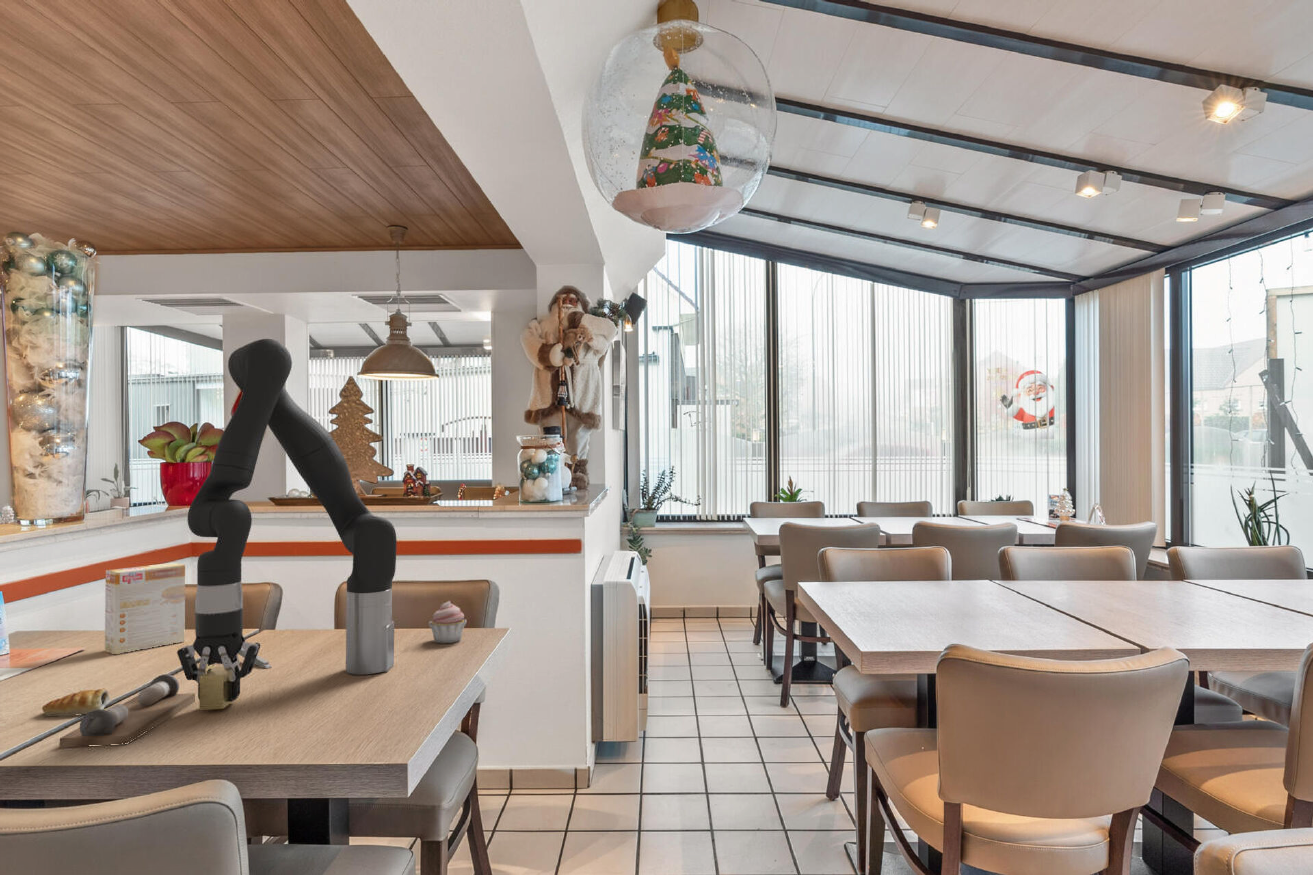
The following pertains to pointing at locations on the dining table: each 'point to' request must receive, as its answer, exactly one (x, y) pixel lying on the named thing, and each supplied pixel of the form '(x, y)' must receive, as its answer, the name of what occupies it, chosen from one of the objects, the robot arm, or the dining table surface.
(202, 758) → the dining table surface
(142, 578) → the coffeecake box
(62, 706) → the pastry
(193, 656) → the robot arm
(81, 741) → the shaft mount
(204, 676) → the coupler
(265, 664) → the caliper
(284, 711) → the dining table surface
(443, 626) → the cupcake
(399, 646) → the dining table surface
